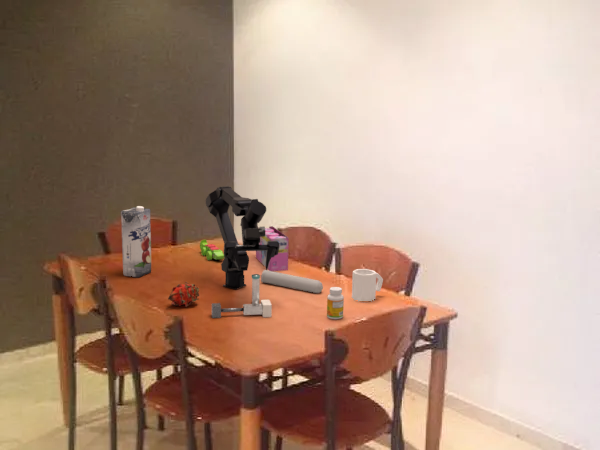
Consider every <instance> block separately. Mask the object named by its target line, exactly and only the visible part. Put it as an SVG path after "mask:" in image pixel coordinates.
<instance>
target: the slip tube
mask: <svg viewBox="0 0 600 450" xmlns="http://www.w3.org/2000/svg"><path fill="white" fill-rule="evenodd" d="M260 282H261V275H260V274H259V273H258V274H257V273H254V274H251V303H243V304H242V308H244V311H242V313H243V316H250V315H251V316H253V315H254V316H255V315H263V305H262V304H261V303H260Z"/></svg>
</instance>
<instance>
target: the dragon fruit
mask: <svg viewBox="0 0 600 450" xmlns="http://www.w3.org/2000/svg"><path fill="white" fill-rule="evenodd" d="M184 283H185V284H183V283H178V284H176V286H173V288H172V289H171V292H170V294H169V297H168V301H171V305H172V306H174V307H176V306H177V307H181V306H184V305H185V306H184V307H186V308H187V307H188V306H191V305H193V303H194V302H196V301H199V300H200V298H199V297H200V293H199V292H200V290H199V289H200V288H199V287H198V286H196V284H195V283H190V284H189V283H188V282H187V281H185V282H184Z"/></svg>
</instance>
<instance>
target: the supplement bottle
mask: <svg viewBox="0 0 600 450" xmlns="http://www.w3.org/2000/svg"><path fill="white" fill-rule="evenodd" d="M342 290H343V288H342V287H339V286H331V287H330V288H329V294H328V295H327V298H326V299H327V301H326V303H327V305H326V317H327V318H328V319H330V320H341V319H343V317H344V307H345V305H344V304H345V303H344V302H345V297H344V295H343V294H342V293H343V291H342Z"/></svg>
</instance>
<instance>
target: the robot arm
mask: <svg viewBox="0 0 600 450" xmlns="http://www.w3.org/2000/svg"><path fill="white" fill-rule="evenodd" d="M205 205H206V208H207V209H208V211H209V213H210V214H211V215H212V216H213V217H214V218H216V219H215V220H216V221H217V225H218V228H219V231H220V235H221V236H222V237H221V238H222V241H223V254H224V259H222V260H223V261H222V262H221V264H220V267H221V270H222V271H223V272H224V274H225V276H224V277H225V283H224V284H222V287H223V288H226V289H227V288H228V289H232V290H238V289H241V288H244V287H247V284H246V283H245V273H244V272H245V271H248V269H249V263H250V257H249V255H248V252H256V251H266V267H265V270H268V265H269V262H270V259H271V257H274V256H275V255H278V251H279V242H278V241H267V245H259V243H260V237H264V236H265V228H266V227H265V226H259V225H258V224H259V223H260V222H261V221H262V219H263V217H264V216H265V215H266V212H267V207H266V205H265V204H264V203H263V202H261V201H259V199H258V198H255V199H254V198H249V197H242V196H241V195H240V194H238V192H236V191H235V190H234V189H232V187H231V186H229V185H227V186H226V185H225V186H218V187H216V189H215V190H214V191H212V192H210V193H209V194H208V195H207V197H206V198H205ZM230 207H231V211H232V213H233V214H234V215H235V217H241V218H240V225H239V226H240V228H241V238H242V244H239V242H238V240H237V239H238V238H237V236H236V233H235V230H234V228H233V227H234V226H233V224H232V221H231V218H230V216H229V213H228V212H229V208H230ZM258 226H259V228H258Z"/></svg>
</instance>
